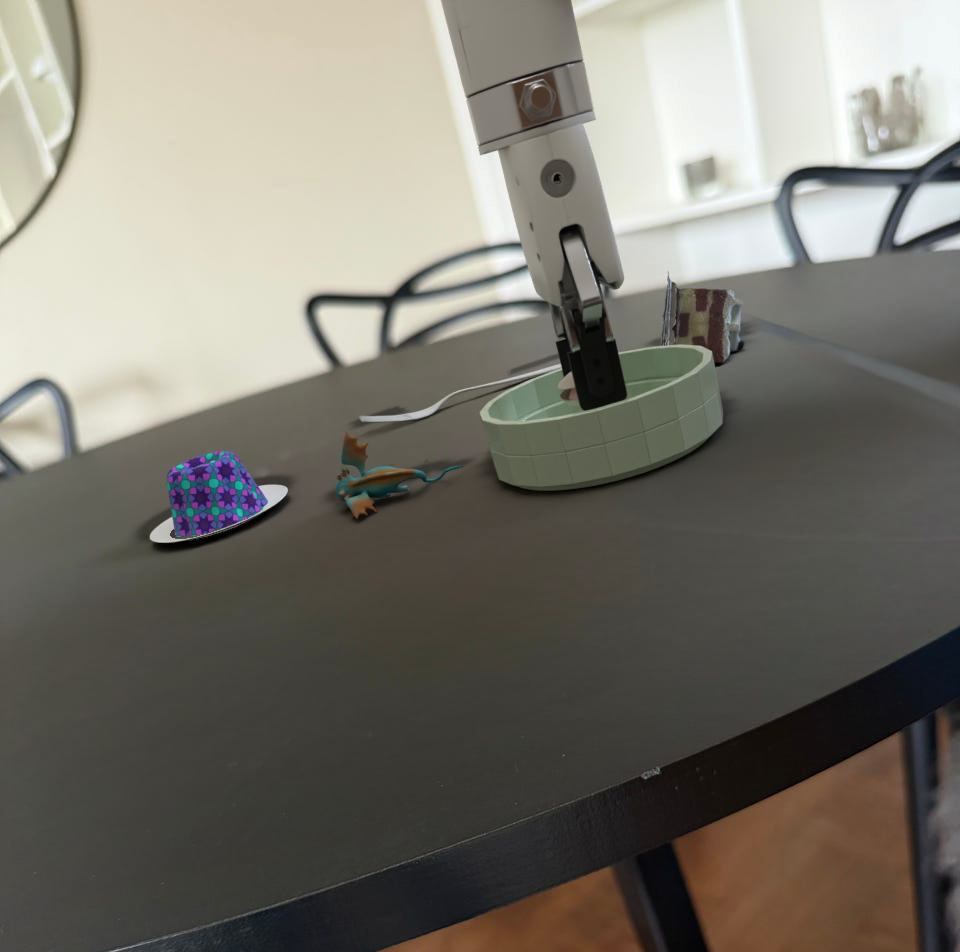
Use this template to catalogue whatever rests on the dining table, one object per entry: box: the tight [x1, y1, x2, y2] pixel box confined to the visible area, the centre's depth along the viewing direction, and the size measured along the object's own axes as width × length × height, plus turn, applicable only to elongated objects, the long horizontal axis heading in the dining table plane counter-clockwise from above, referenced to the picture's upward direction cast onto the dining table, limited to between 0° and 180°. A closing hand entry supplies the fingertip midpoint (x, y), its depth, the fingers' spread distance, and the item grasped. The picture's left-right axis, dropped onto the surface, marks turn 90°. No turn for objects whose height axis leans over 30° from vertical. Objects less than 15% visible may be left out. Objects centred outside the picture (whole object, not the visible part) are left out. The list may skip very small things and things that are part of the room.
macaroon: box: [558, 371, 580, 406], centre depth 71 cm, size 4×5×2 cm
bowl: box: [479, 344, 724, 492], centre depth 72 cm, size 16×16×5 cm
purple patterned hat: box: [149, 450, 289, 544], centre depth 85 cm, size 12×12×5 cm
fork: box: [358, 363, 562, 424], centre depth 102 cm, size 3×24×2 cm, turn 106°
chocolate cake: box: [659, 271, 745, 364], centre depth 91 cm, size 10×7×12 cm
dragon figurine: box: [334, 431, 464, 519], centre depth 77 cm, size 6×7×8 cm
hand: (596, 394), depth 71 cm, fingers closed on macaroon, 4 cm apart
